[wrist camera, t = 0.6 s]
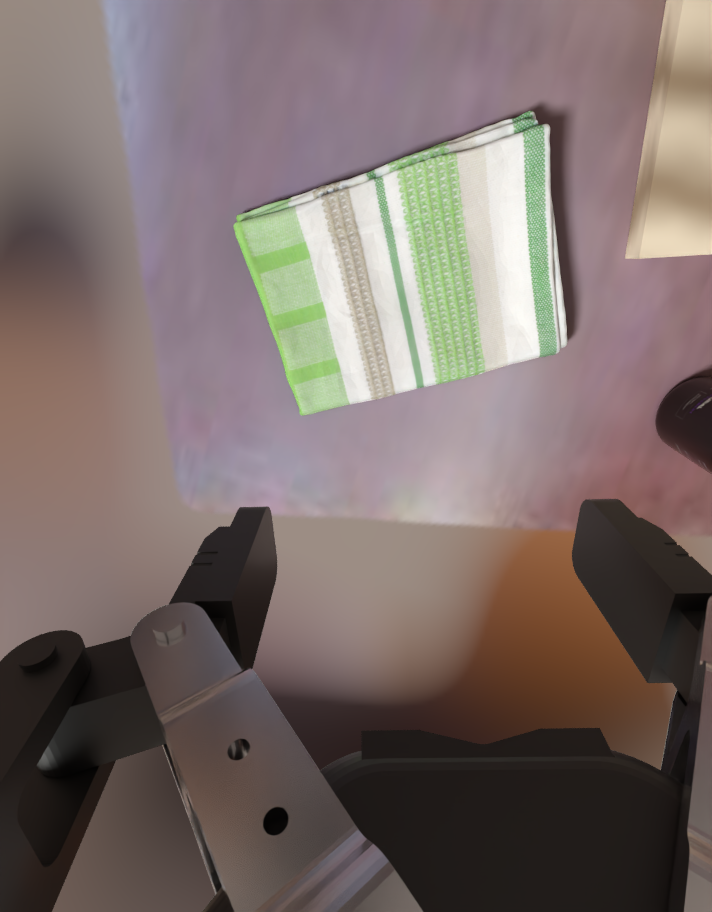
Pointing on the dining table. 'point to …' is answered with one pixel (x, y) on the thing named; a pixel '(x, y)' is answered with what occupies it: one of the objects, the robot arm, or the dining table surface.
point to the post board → (677, 141)
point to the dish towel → (413, 269)
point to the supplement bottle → (688, 421)
